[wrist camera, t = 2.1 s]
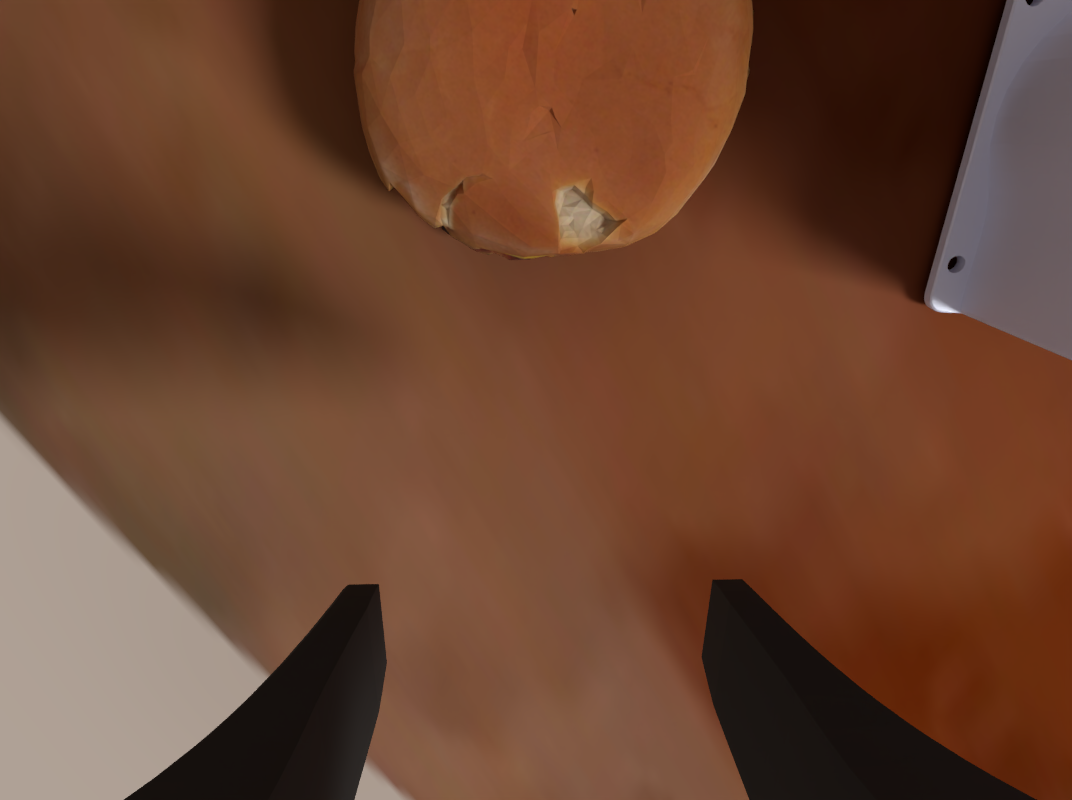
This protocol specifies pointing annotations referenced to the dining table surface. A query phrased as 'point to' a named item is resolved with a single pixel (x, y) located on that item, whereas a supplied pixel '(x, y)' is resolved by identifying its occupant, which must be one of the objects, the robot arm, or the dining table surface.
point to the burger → (549, 113)
